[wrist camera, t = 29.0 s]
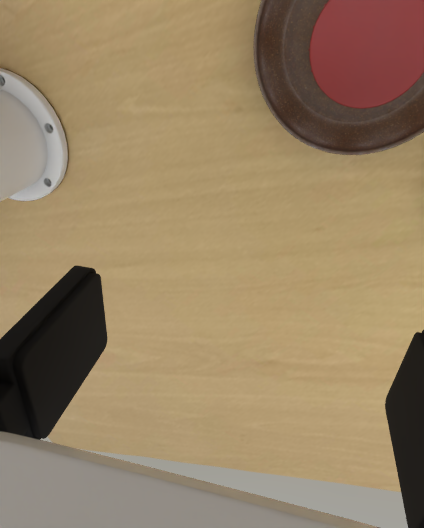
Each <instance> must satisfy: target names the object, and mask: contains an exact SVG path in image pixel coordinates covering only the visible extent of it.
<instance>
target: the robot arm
mask: <svg viewBox="0 0 424 528" xmlns="http://www.w3.org/2000/svg"><path fill="white" fill-rule="evenodd" d="M67 161H68V151H67V143H66V138H65V134H64V131H63V128H62V126H61V123H60V121H59V119H58V117H57V115H56V113H55V111H54V109H53V108H52V106H51V105H50V104H49V102H48V101H47V100H46V98H45V97H44V96H43V95H42V94H41V93H40V92H39V91H38V90H37V89H36V88H35V87H34V86H33V85H32V84H31V83H29V82H28V81H27V80H25V79H24V78H23V77H21V76H19V75H17V74H15V73H13V72H11V71H8V70H5V69H1V68H0V202H1V201H3V200H4V199H6V198H10V199H13V200H19V201H34V200H37V199H40V198H43V197H44V196H46V195H48V194H49V193H51V192H52V191H53V190H55V189H56V188H57V187H58V185H59V184H60V183H61V181H62V180H63V177H64V174H65V172H66V168H67ZM106 344H107V331H106V322H105V313H104V304H103V294H102V285H101V277H100V275H99V274H96V271H95V269H93V268H88V267H82V266H74V267H73V268H72V269H71V270H70V271H69V272H68V273H67V274H66V275H65V276H64V277H63V278H62V279H61V280H60V281H59V282H58V283H57V284H56V285H55V286H54V287H53V288H52V289H51V290H49V291H48V292H47V293H46V294H45V295H44V296H43V297H42V298H41V299H40V300H39V301H38V302H37V303H36V304H35V305H34V306H33V307H32V308H31V309H30V310H29V311H28V312H27V313H26V314H25V315H24V316H23V317H22V318H21V319H20V320H19V321H18V322H17V323H16V324H15V325H14V326H13V327H12V328H11V329H10V330H9V331H8V332H7V333H6V334H5V335H4V336H3V337H2V338H1V339H0V528H379V527H375V526H372V525H368V524H365V523H361V522H357V521H354V520H350V519H346V518H342V517H339V516H335V515H331V514H327V513H323V512H320V511H316V510H312V509H308V508H305V507H301V506H297V505H293V504H289V503H286V502H282V501H278V500H274V499H271V498H267V497H263V496H259V495H255V494H251V493H248V492H244V491H240V490H236V489H232V488H228V487H224V486H221V485H217V484H213V483H209V482H205V481H201V480H197V479H194V478H189V477H186V476H181V475H178V474H174V473H170V472H166V471H162V470H158V469H155V468H151V467H147V466H143V465H139V464H135V463H131V462H127V461H123V460H119V459H115V458H111V457H107V456H103V455H99V454H96V453H91V452H88V451H84V450H80V449H76V448H72V447H68V446H64V445H60V444H55V443H51V442H47V441H43V440H40V439H41V438H43V439H44V438H46V437H47V436H48V435H49V434H50V432H51V431H52V429H53V428H54V426H55V424H56V423H57V421H58V420H59V418H60V417H61V415H62V414H63V412H64V411H65V409H66V408H67V406H68V405H69V403H70V401H71V400H72V398H73V397H74V395H75V394H76V392H77V391H78V389H79V388H80V386H81V385H82V383H83V381H84V380H85V378H86V377H87V375H88V374H89V372H90V371H91V369H92V368H93V366H94V365H95V363H96V362H97V360H98V358H99V357H100V355H101V354H102V352H103V351H104V349H105V347H106ZM385 409H386V415H387V420H388V425H389V430H390V435H391V441H392V446H393V451H394V456H395V461H396V467H397V472H398V477H399V482H400V487H401V493H402V497H403V503H404V508H405V513H406V519H407V524H408V528H424V330H423V331H422V333H419V332H417V333H415V335H414V337H413V339H412V341H411V343H410V346H409V348H408V350H407V352H406V355H405V357H404V359H403V361H402V364H401V366H400V368H399V370H398V372H397V375H396V377H395V379H394V381H393V384H392V386H391V388H390V390H389V393H388V395H387V397H386V403H385Z"/></svg>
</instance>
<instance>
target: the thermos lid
mask: <svg viewBox="0 0 424 528" xmlns="http://www.w3.org/2000/svg"><path fill="white" fill-rule="evenodd" d="M308 51H309V57H310V65H311V72H312V73H313V76H314V78H315V80H316V82H317V84H318V86H319V87H320V89H321V90H322V91H323V92H324V93H325V94H326V95H327V96H328V97H329V98H330V99H332V100H333V101H335V102H337V103H339V104H341V105H343V106H346V107H351V108H359V109H364V108H373V107H378V106H381V105H384V104H386V103H388V102H391V101H393V100H395V99H396V98H398V97H400V96H401V95H402V94H404V93H405V92H406V91H408V90H409V89H410V88H411V87H412V86H413V85H414V84H415V83H416V82H417V80H418V79H419V78H420V77H421V76H422V74H423V73H424V0H329V1H328V2H327V4H326V3H325V4H324V8H323V9H322V11H321V13H320V15H319V17H318V19H317V20H316V23H315V26H313V32H312V36H311V40H310V48H309V49H308Z"/></svg>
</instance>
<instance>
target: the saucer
mask: <svg viewBox="0 0 424 528" xmlns="http://www.w3.org/2000/svg"><path fill="white" fill-rule="evenodd" d="M328 1H329V0H262V1H261V4H260V7H259V11H258V15H257V20H256V25H255V33H254V63H255V70H256V75H257V80H258V84H259V87H260V90H261V92H262V95H263V97H264V99H265V102H266V103H267V105H268V107H269V109H270V111H271V112H272V114H273V115H274V116H275V118H276V119H277V120H278V122H279V123H280V124H281V125H282V126H283V127H284V128H285V129H286V130H287V131H288V132H289V133H290V134H291V135H293V136H294V137H295V138H297V139H298V140H300V141H301V142H303V143H305V144H307V145H309V146H311V147H313V148H316V149H319V150H322V151H325V152H329V153H334V154H342V155H362V154H370V153H375V152H379V151H383V150H386V149H389V148H392V147H395V146H398V145H400V144H402V143H405V142H407V141H409V140H411V139H413V138H415V137H416V136H418V135H420V134H421V133H423V132H424V73H423V74H422V76H421V77H420V78H419V79H418V80H417V82H416V83H415V84H414V85H413V86H412V87H411V88H410V89H409V90H408V91H406V92H405V93H404V94H402V95H401V96H400V97H398V98H396V99H395V100H393V101H391V102H388V103H386V104H384V105H381V106H378V107H373V108H364V109H359V108H351V107H346V106H343V105H341V104H339V103H337V102H335V101H333V100H332V99H330V98H329V97H328V96H327V95H326V94H325V93H324V92H323V91H322V90H321V89H320V87H319V86H318V84H317V82H316V80H315V78H314V76H313V73H312V72H311V65H310V57H309V51H308V49H309V48H310V40H311V36H312V32H313V26H315V23H316V20H317V19H318V17H319V15H320V13H321V11H322V9H323V8H324V4H325V3H326V4H327V2H328Z"/></svg>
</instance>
